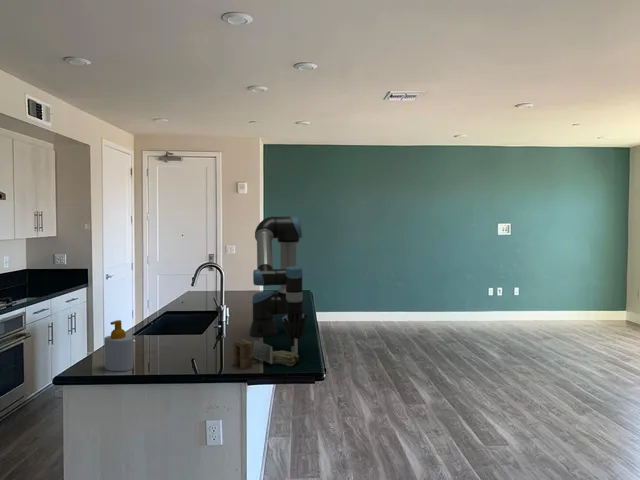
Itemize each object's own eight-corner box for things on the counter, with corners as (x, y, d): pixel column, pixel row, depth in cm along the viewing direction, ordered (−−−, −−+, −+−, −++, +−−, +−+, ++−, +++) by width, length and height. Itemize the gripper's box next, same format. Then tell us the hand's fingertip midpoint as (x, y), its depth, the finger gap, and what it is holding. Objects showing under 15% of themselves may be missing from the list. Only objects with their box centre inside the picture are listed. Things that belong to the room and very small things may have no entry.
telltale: (254, 358, 205) (254, 349, 205) (255, 359, 204) (255, 349, 204) (250, 359, 204) (250, 349, 204) (252, 359, 203) (251, 350, 203)
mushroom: (263, 365, 197) (263, 352, 197) (274, 358, 206) (274, 347, 206) (294, 368, 192) (294, 356, 192) (303, 362, 201) (303, 350, 201)
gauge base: (254, 357, 208) (254, 334, 207) (268, 363, 198) (268, 339, 198) (230, 362, 200) (229, 338, 200) (242, 369, 191) (242, 344, 190)
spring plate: (256, 355, 205) (256, 340, 205) (272, 363, 194) (272, 346, 194) (236, 359, 199) (235, 343, 199) (251, 367, 188) (251, 350, 188)
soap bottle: (99, 369, 191) (98, 321, 190) (114, 363, 199) (113, 317, 198) (123, 373, 186) (122, 324, 186) (138, 367, 194) (137, 320, 193)
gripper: (301, 298, 212) (301, 348, 213) (277, 301, 204) (277, 353, 205) (310, 300, 206) (311, 351, 207) (286, 303, 198) (287, 357, 199)
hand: (294, 352), depth 206 cm, fingers closed
